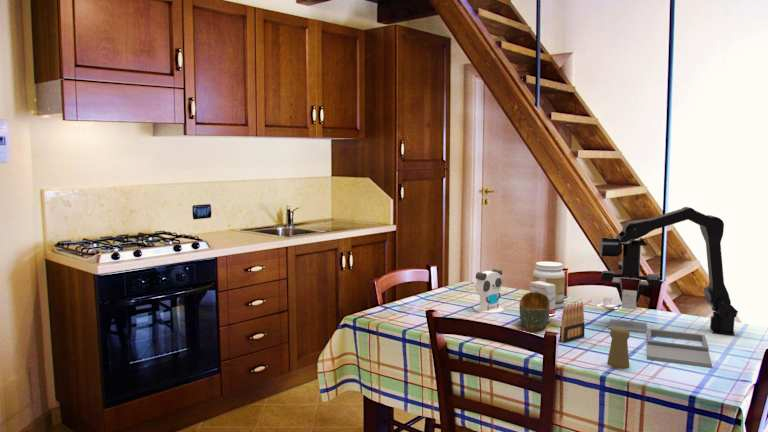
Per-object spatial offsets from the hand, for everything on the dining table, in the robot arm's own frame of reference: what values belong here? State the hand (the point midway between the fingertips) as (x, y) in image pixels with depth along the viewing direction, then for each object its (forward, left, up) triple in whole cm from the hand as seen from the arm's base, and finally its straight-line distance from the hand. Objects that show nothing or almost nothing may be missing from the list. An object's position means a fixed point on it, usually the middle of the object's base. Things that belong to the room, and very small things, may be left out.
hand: (629, 302), depth 218 cm
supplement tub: (+30, -18, -9) cm, 36 cm away
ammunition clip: (+16, +24, -9) cm, 30 cm away
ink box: (+30, -4, -9) cm, 32 cm away
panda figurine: (+50, -2, -9) cm, 51 cm away
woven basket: (+30, +12, -9) cm, 34 cm away
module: (0, 0, -2) cm, 2 cm away
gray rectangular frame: (-15, +21, -9) cm, 27 cm away
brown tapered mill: (+1, +44, -9) cm, 45 cm away
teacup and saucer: (+11, -25, -9) cm, 28 cm away
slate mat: (0, 0, -9) cm, 9 cm away
